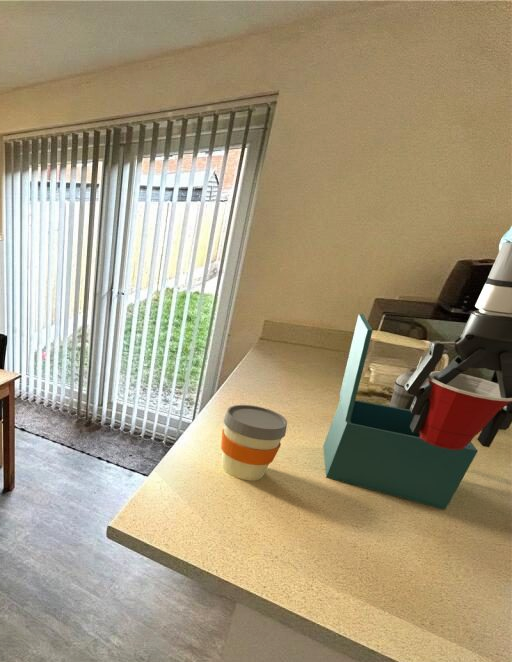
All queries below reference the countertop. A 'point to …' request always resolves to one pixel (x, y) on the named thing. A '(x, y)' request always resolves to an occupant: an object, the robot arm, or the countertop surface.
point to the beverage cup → (403, 391)
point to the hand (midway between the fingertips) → (447, 436)
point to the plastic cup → (460, 410)
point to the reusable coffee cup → (250, 440)
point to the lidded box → (392, 456)
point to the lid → (355, 365)
